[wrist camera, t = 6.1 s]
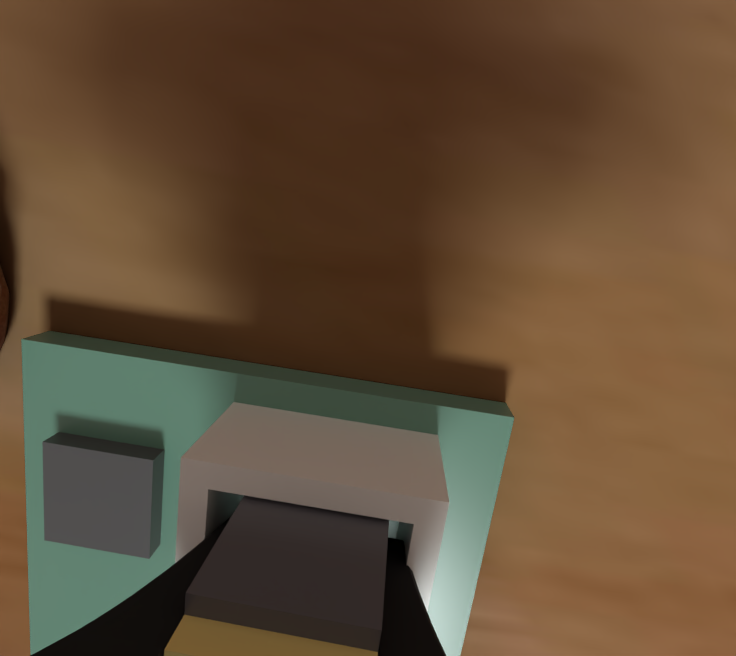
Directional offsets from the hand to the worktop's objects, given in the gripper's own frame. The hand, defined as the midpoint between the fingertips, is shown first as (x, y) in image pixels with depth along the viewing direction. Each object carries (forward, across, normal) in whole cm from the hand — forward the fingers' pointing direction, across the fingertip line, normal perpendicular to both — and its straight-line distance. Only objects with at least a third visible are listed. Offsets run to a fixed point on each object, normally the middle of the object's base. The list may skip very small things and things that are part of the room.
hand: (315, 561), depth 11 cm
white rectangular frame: (+2, 0, 0) cm, 2 cm away
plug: (+1, 0, 0) cm, 1 cm away
